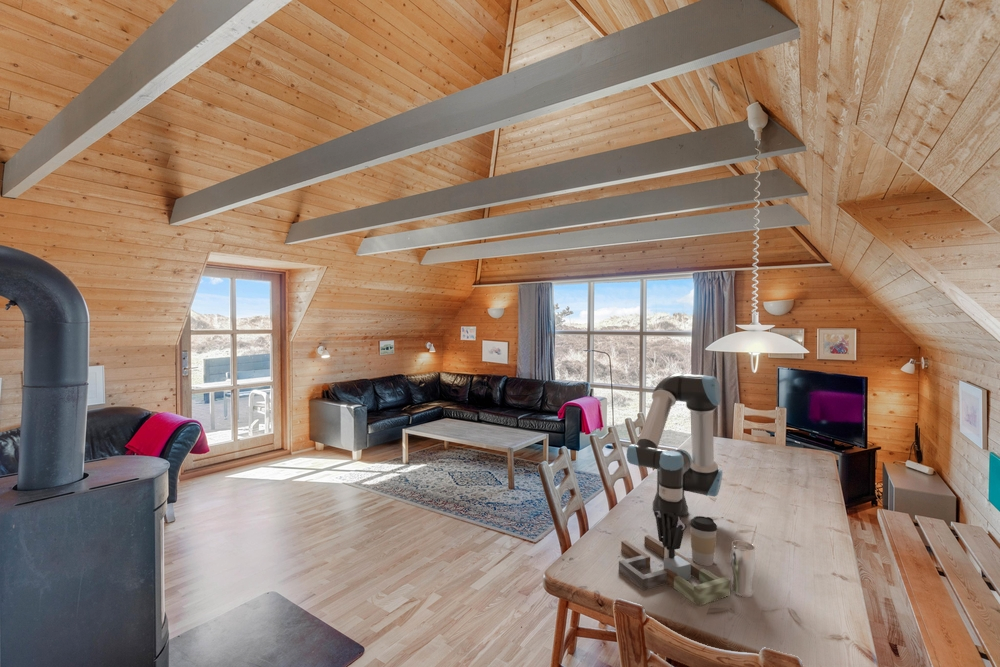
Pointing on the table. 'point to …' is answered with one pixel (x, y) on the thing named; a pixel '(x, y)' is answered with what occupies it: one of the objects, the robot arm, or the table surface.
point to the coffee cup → (703, 539)
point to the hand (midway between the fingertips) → (668, 565)
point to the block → (678, 566)
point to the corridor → (671, 574)
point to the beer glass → (742, 567)
